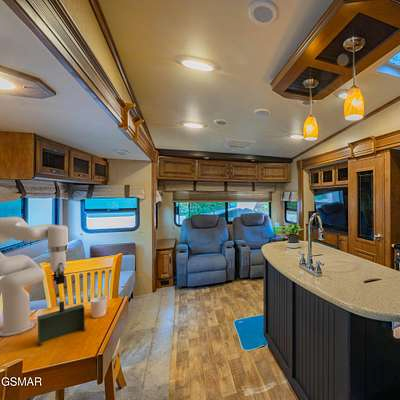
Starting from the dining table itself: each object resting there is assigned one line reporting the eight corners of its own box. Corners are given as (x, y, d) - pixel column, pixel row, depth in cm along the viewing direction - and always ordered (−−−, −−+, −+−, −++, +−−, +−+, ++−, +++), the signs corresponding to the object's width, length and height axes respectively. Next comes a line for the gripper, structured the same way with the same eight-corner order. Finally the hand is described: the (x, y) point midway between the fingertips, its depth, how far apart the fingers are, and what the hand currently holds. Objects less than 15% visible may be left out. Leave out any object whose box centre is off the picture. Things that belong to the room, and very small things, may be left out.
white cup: (97, 319, 145) (97, 302, 144) (87, 317, 146) (86, 301, 146) (110, 312, 152) (110, 297, 152) (100, 311, 154) (100, 295, 154)
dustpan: (38, 342, 123) (37, 306, 122) (82, 327, 136) (82, 295, 135) (39, 346, 120) (38, 309, 119) (84, 330, 133) (84, 297, 132)
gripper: (45, 247, 132) (46, 279, 133) (51, 253, 121) (51, 288, 122) (64, 245, 138) (65, 276, 138) (71, 250, 127) (72, 284, 128)
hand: (59, 281), depth 130 cm, fingers open, 6 cm apart
